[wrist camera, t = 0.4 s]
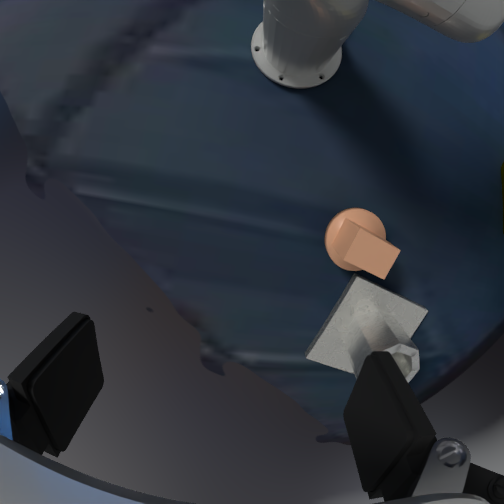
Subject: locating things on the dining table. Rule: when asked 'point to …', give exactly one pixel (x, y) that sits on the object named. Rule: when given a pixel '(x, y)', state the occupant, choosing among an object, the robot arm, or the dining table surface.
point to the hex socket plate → (368, 328)
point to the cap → (359, 242)
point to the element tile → (503, 190)
